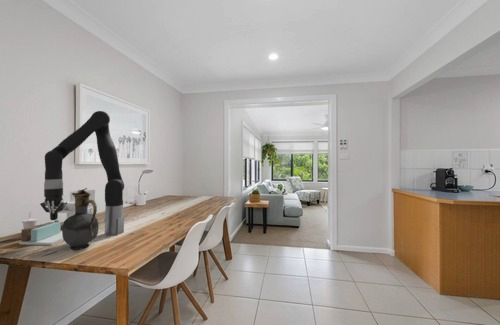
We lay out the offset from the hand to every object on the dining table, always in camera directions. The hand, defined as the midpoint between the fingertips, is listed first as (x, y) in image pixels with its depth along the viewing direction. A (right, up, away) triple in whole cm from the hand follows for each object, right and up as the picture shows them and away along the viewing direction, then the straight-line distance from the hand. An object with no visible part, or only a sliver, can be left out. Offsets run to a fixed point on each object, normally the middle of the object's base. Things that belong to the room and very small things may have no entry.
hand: (53, 219), depth 114 cm
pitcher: (+21, -12, -7) cm, 26 cm away
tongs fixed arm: (-13, -10, +4) cm, 17 cm away
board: (-6, -12, +6) cm, 15 cm away
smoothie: (-22, -12, +8) cm, 26 cm away
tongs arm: (-9, -11, +5) cm, 15 cm away
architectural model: (-15, -13, +35) cm, 40 cm away
